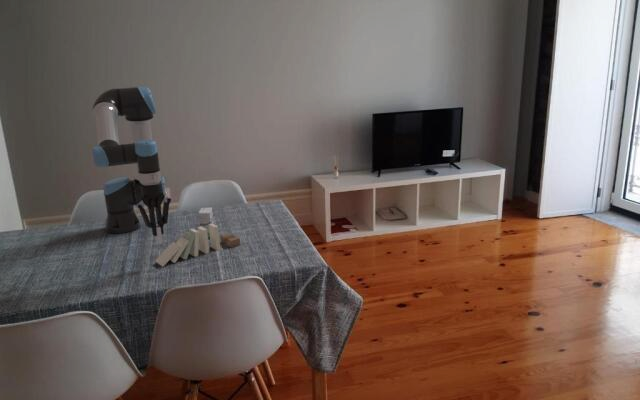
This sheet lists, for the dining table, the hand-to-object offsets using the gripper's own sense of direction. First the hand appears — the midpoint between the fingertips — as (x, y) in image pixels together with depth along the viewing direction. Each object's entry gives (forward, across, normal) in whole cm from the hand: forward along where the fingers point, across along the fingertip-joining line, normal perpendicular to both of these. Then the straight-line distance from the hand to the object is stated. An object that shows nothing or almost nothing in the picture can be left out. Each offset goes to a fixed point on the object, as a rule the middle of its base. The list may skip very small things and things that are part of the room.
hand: (159, 242), depth 191 cm
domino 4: (+9, +13, 0) cm, 16 cm away
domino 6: (+9, +23, 0) cm, 25 cm away
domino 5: (+9, +18, 0) cm, 20 cm away
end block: (+9, +30, 0) cm, 31 cm away
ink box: (+9, +28, +16) cm, 34 cm away
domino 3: (+9, +8, 0) cm, 12 cm away
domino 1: (+8, -1, 0) cm, 8 cm away
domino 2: (+8, +3, 0) cm, 9 cm away
